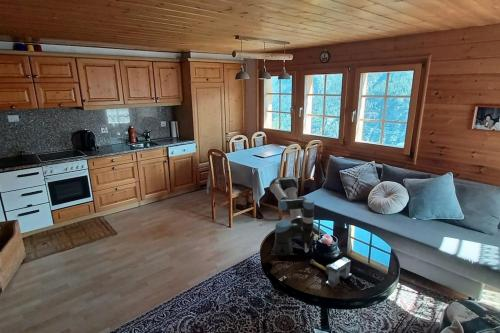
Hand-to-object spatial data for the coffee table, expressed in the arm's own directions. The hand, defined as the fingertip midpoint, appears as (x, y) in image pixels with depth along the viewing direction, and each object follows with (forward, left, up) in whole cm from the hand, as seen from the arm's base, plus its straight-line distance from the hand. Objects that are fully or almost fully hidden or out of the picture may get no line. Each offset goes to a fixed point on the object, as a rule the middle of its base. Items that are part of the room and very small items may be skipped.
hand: (306, 251), depth 207 cm
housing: (+28, 0, -7) cm, 29 cm away
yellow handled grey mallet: (+14, 0, -7) cm, 16 cm away
